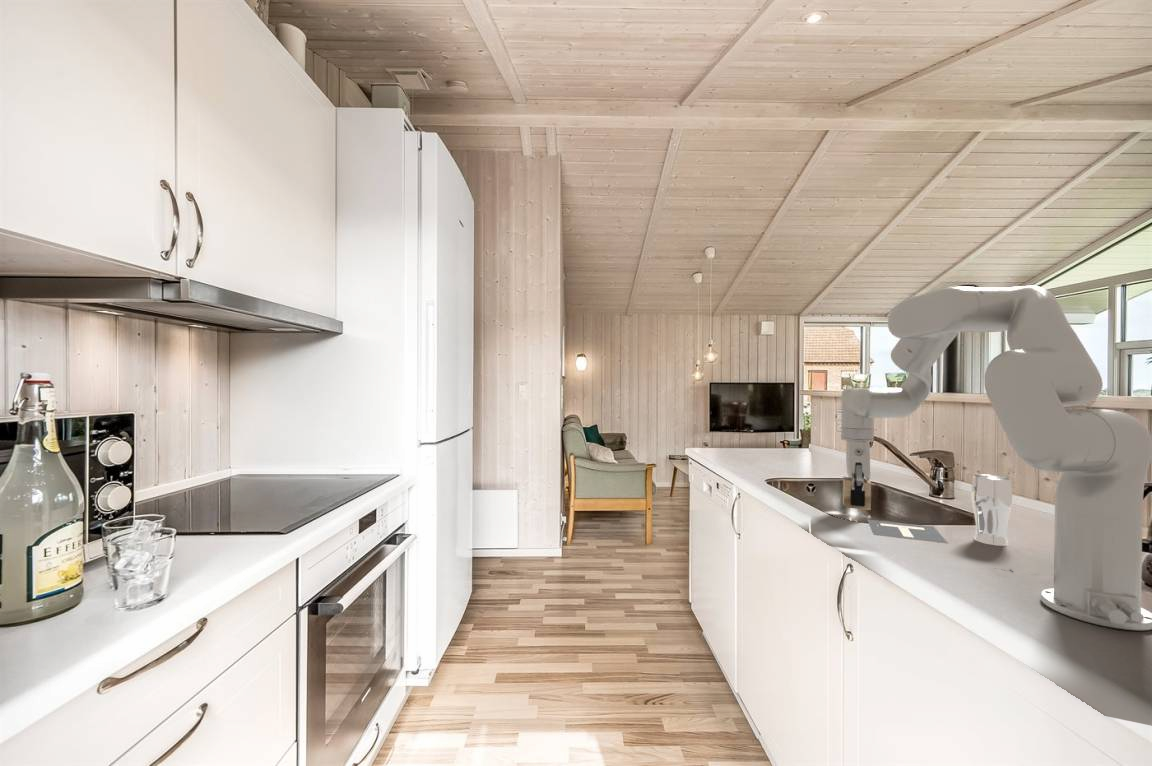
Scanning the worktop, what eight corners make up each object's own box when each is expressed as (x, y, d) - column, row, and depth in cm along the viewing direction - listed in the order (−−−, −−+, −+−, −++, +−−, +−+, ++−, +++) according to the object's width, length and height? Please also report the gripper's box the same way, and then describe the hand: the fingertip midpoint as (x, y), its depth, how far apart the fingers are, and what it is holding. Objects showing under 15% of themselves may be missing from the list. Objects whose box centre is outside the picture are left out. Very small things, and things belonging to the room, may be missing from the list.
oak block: (870, 510, 130) (871, 482, 130) (844, 507, 132) (844, 480, 132) (868, 504, 135) (868, 478, 135) (842, 502, 138) (843, 476, 138)
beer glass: (1019, 551, 108) (1020, 480, 107) (982, 548, 109) (983, 479, 109) (999, 541, 114) (1000, 474, 114) (964, 538, 116) (965, 473, 116)
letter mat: (948, 547, 110) (948, 543, 110) (873, 538, 116) (873, 534, 116) (933, 529, 123) (933, 526, 123) (867, 522, 128) (867, 519, 128)
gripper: (877, 439, 124) (876, 512, 124) (869, 432, 140) (869, 497, 140) (843, 437, 127) (842, 508, 128) (839, 431, 143) (838, 494, 143)
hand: (856, 502), depth 134 cm, fingers closed on oak block, 6 cm apart
